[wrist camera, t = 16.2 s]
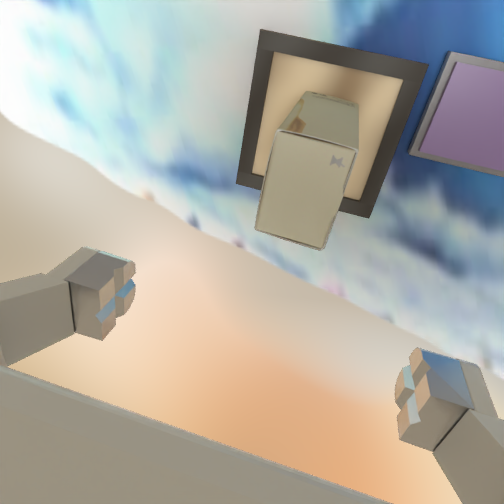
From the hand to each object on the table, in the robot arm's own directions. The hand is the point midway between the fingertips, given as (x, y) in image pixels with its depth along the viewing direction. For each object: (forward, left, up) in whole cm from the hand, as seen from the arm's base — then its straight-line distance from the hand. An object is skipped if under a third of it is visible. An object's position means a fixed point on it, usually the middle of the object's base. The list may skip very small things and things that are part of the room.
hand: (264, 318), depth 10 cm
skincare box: (0, 0, -23) cm, 23 cm away
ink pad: (-10, -4, -23) cm, 25 cm away
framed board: (0, 0, -23) cm, 23 cm away
